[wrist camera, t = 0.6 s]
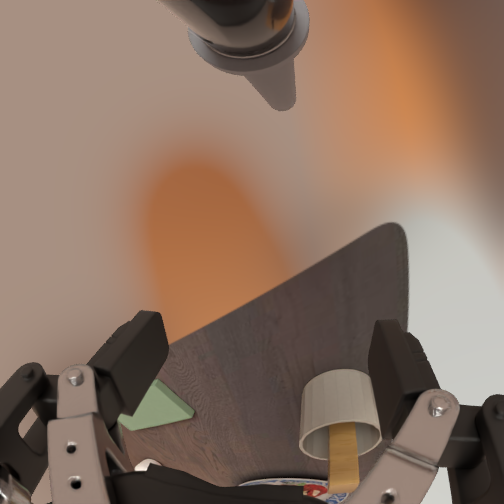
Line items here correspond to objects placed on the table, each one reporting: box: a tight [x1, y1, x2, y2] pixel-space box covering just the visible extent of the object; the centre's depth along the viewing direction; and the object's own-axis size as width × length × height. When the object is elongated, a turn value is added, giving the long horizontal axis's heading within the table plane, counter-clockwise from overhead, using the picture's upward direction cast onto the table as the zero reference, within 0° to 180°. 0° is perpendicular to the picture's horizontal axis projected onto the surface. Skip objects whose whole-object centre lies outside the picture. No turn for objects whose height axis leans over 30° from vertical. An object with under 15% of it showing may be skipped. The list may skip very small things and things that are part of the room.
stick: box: [327, 422, 359, 494], centre depth 27 cm, size 3×3×14 cm
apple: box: [135, 459, 162, 471], centre depth 49 cm, size 7×7×8 cm
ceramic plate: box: [239, 478, 349, 504], centre depth 48 cm, size 26×26×3 cm
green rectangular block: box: [118, 379, 195, 431], centre depth 41 cm, size 18×8×2 cm, turn 127°
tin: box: [299, 369, 382, 460], centre depth 30 cm, size 10×10×8 cm
